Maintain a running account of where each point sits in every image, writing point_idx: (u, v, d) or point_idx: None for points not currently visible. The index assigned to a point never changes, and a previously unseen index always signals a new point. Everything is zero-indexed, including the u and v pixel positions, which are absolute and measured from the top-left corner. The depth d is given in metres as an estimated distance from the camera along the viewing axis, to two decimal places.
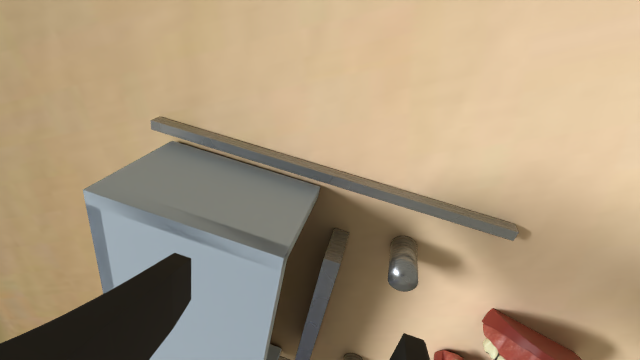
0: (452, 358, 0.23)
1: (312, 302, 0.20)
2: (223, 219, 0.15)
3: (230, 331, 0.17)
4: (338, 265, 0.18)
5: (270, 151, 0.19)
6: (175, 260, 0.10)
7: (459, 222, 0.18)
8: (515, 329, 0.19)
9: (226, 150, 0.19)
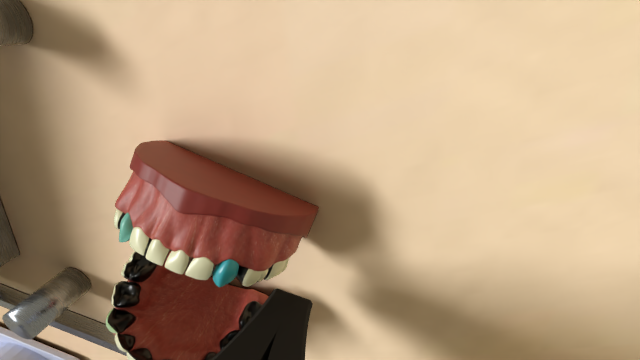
0: None
1: None
2: None
3: None
4: None
5: None
6: (282, 298, 0.10)
7: None
8: (143, 147, 0.10)
9: None
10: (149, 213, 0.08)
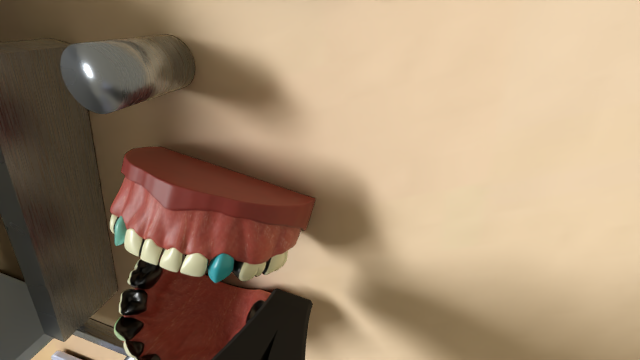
0: None
1: None
2: None
3: None
4: None
5: None
6: (282, 298, 0.10)
7: None
8: (134, 152, 0.10)
9: None
10: (140, 214, 0.08)
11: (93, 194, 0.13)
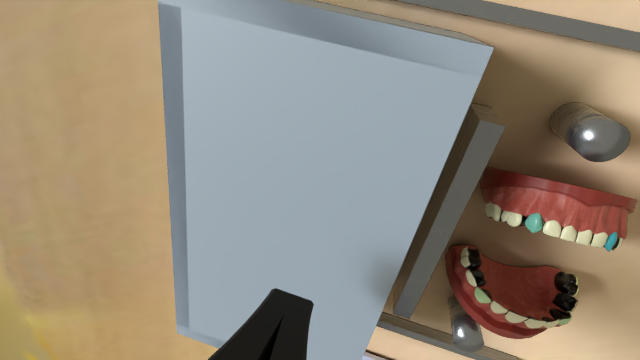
0: (462, 249, 0.18)
1: (446, 198, 0.15)
2: (372, 18, 0.10)
3: (359, 216, 0.12)
4: (501, 129, 0.13)
5: None
6: (281, 298, 0.10)
7: None
8: (512, 172, 0.15)
9: None
10: (558, 210, 0.13)
11: None
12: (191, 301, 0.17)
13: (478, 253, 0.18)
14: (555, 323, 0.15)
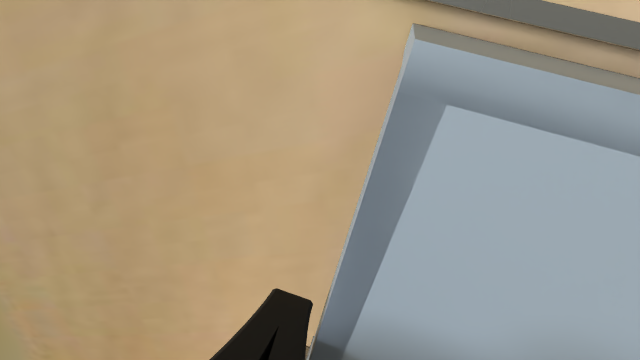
0: None
1: None
2: None
3: None
4: None
5: None
6: (282, 298, 0.10)
7: None
8: None
9: (540, 20, 0.09)
10: None
11: None
12: None
13: None
14: None
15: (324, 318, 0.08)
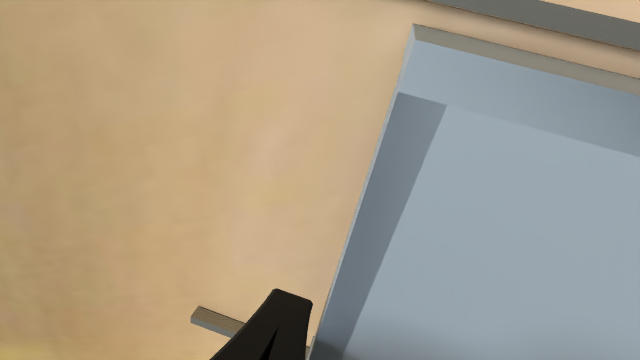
0: None
1: None
2: None
3: None
4: None
5: None
6: (282, 298, 0.10)
7: None
8: None
9: None
10: None
11: None
12: None
13: None
14: None
15: (324, 318, 0.08)
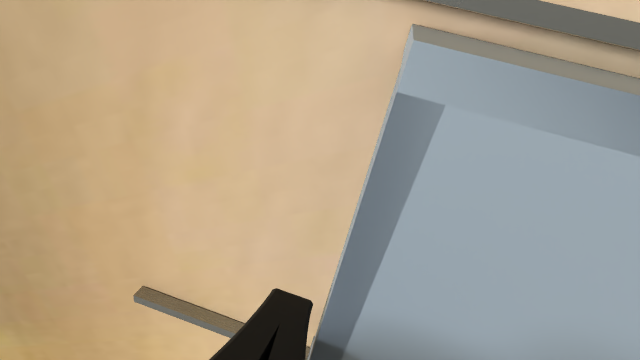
0: None
1: None
2: None
3: None
4: None
5: None
6: (282, 298, 0.10)
7: None
8: None
9: None
10: None
11: None
12: None
13: None
14: None
15: (324, 318, 0.08)
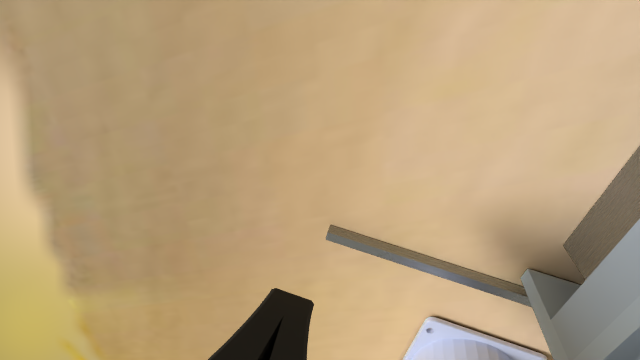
0: None
1: None
2: None
3: None
4: None
5: None
6: (281, 298, 0.10)
7: None
8: None
9: None
10: None
11: None
12: None
13: None
14: None
15: None
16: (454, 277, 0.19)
